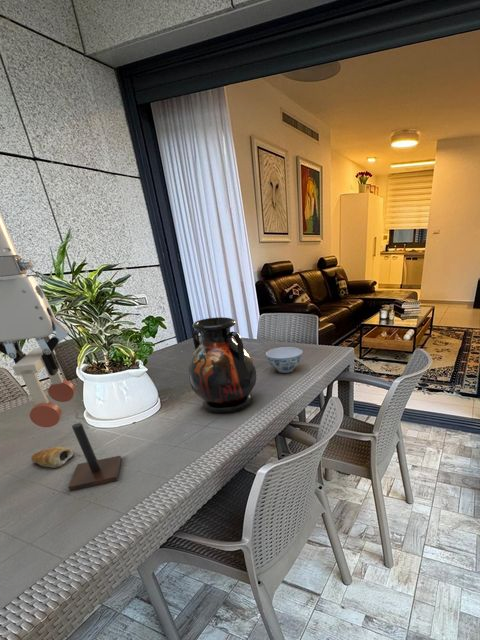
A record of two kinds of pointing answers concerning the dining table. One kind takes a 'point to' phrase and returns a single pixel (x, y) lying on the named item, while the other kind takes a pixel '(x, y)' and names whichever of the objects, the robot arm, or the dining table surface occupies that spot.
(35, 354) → the over-ear headset
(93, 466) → the headphone stand
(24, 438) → the dining table surface
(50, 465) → the pastry
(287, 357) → the chinaware
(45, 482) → the dining table surface
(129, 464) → the dining table surface
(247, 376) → the amphora vase
